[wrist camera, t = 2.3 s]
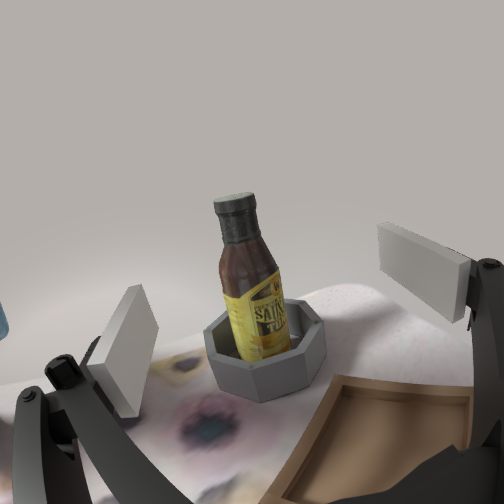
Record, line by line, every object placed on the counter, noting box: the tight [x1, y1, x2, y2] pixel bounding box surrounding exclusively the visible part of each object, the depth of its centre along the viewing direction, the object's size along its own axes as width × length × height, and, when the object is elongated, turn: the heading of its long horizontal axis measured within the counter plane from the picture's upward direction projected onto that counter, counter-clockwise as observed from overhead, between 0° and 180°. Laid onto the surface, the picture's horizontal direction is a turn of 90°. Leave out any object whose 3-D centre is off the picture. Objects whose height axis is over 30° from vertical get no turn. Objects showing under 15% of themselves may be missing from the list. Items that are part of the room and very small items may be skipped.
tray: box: [258, 374, 474, 504], centre depth 17 cm, size 15×15×2 cm
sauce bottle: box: [214, 192, 291, 363], centre depth 31 cm, size 6×6×20 cm
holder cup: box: [203, 299, 326, 403], centre depth 33 cm, size 13×13×5 cm
